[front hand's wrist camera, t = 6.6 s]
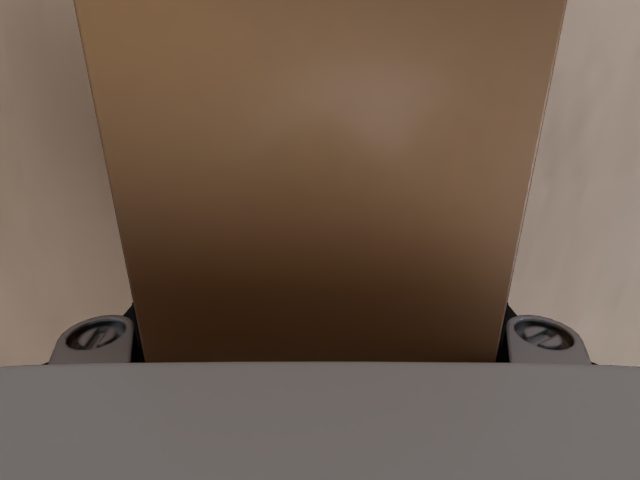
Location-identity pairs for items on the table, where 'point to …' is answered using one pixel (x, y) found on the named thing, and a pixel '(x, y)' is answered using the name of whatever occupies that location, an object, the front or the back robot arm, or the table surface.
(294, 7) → the bar
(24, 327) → the table surface
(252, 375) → the front robot arm
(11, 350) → the table surface
